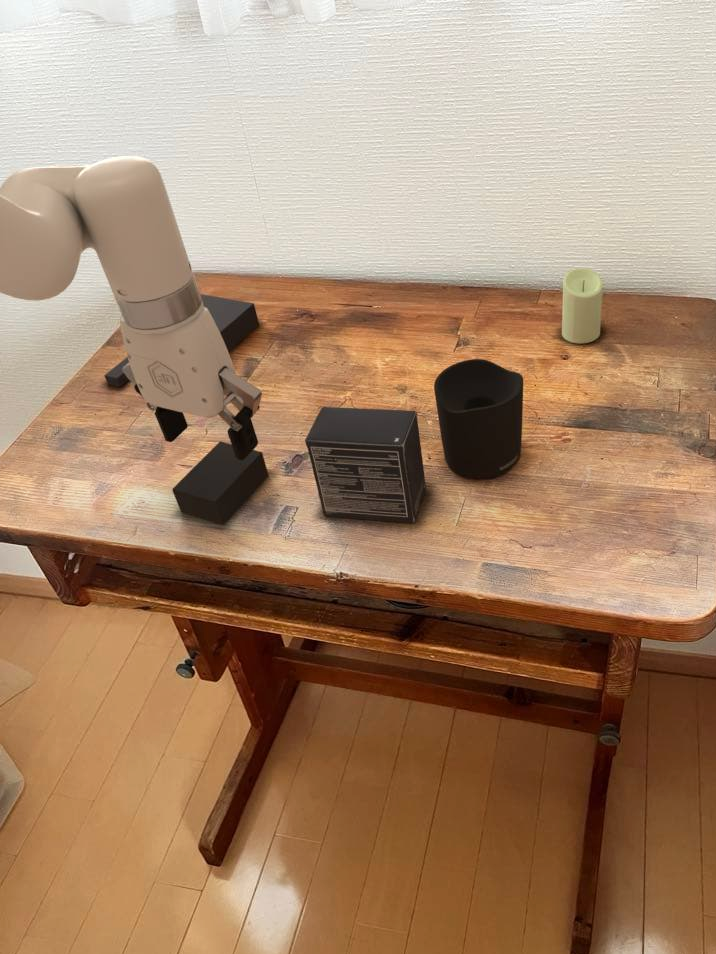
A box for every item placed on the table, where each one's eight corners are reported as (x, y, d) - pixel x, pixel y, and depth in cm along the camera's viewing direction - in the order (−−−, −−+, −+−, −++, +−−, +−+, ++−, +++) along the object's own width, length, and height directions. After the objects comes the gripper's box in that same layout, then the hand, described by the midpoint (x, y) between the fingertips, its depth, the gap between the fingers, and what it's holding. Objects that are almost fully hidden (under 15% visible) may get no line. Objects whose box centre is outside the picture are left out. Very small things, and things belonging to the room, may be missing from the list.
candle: (605, 339, 109) (609, 281, 103) (569, 347, 109) (571, 289, 103) (591, 321, 113) (594, 264, 107) (556, 328, 112) (557, 272, 107)
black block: (223, 525, 91) (214, 502, 89) (181, 512, 94) (171, 489, 91) (268, 475, 97) (262, 451, 94) (227, 464, 99) (220, 441, 97)
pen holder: (446, 488, 92) (439, 415, 85) (437, 437, 98) (429, 365, 91) (531, 477, 91) (531, 402, 84) (516, 426, 98) (514, 353, 91)
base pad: (174, 400, 110) (166, 378, 108) (107, 384, 115) (98, 362, 112) (259, 324, 122) (254, 303, 120) (195, 312, 127) (189, 291, 124)
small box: (428, 484, 92) (419, 407, 85) (415, 525, 88) (405, 447, 81) (338, 478, 95) (321, 402, 88) (321, 517, 90) (302, 441, 83)
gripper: (66, 308, 79) (130, 448, 91) (208, 334, 72) (257, 482, 84) (118, 270, 84) (172, 409, 96) (256, 292, 77) (296, 438, 89)
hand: (212, 443), depth 90 cm, fingers open, 9 cm apart
